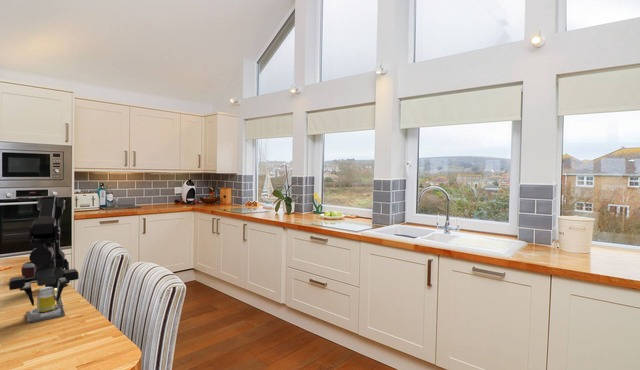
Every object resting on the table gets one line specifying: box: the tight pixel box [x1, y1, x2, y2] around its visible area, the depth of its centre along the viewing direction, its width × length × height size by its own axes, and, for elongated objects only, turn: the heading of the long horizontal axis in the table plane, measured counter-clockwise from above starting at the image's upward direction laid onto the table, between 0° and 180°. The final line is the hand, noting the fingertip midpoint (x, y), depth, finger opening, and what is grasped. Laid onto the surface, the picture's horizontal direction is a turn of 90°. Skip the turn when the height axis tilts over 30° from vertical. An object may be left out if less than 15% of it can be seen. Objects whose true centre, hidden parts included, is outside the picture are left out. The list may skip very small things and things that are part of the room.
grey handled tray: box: [25, 288, 66, 324], centre depth 129 cm, size 25×11×4 cm, turn 41°
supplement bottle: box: [36, 286, 56, 314], centre depth 123 cm, size 5×5×8 cm
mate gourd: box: [21, 261, 35, 279], centre depth 161 cm, size 8×8×15 cm
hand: (45, 303), depth 123 cm, fingers open, 6 cm apart
